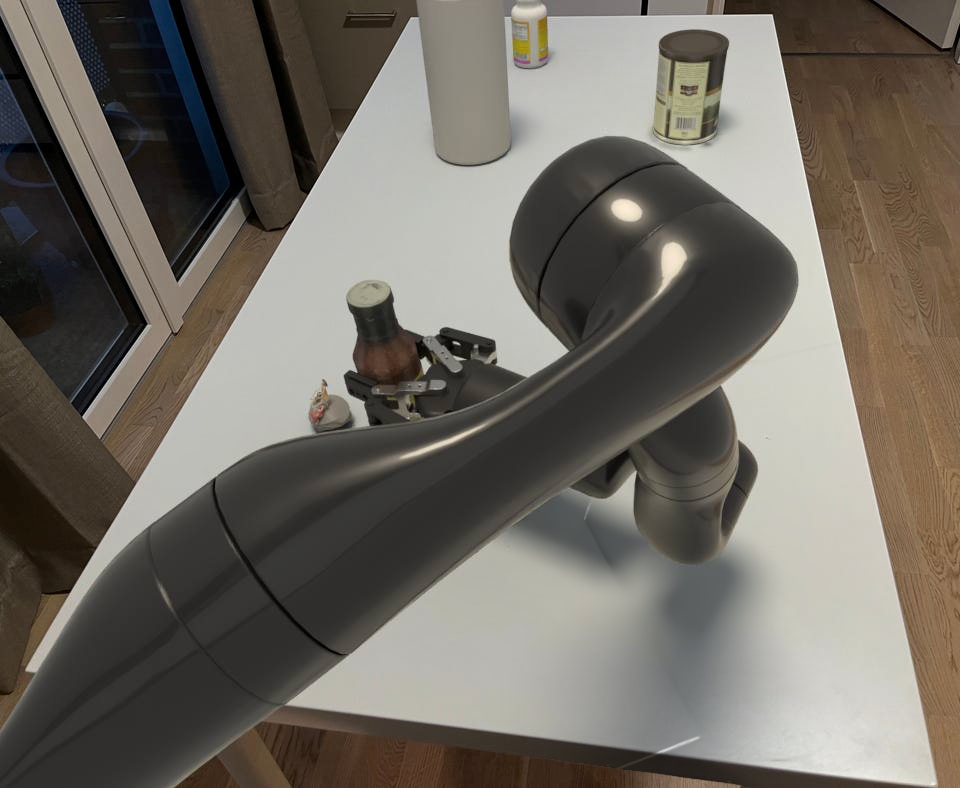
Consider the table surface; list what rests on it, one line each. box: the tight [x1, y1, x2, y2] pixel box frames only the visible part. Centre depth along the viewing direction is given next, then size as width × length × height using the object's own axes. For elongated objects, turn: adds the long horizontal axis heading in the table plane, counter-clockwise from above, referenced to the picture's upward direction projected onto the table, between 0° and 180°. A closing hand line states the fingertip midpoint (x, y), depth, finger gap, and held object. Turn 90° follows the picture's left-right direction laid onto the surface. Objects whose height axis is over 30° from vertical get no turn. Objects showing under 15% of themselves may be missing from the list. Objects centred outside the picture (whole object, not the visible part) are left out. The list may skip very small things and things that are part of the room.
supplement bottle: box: [510, 0, 549, 69], centre depth 148 cm, size 7×7×13 cm
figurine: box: [308, 378, 353, 432], centre depth 86 cm, size 5×4×6 cm
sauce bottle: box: [345, 279, 425, 419], centre depth 76 cm, size 6×6×20 cm
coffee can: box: [652, 28, 730, 146], centre depth 124 cm, size 10×10×14 cm
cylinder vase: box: [415, 0, 512, 166], centre depth 121 cm, size 12×12×25 cm
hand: (370, 358), depth 76 cm, fingers closed on sauce bottle, 6 cm apart
